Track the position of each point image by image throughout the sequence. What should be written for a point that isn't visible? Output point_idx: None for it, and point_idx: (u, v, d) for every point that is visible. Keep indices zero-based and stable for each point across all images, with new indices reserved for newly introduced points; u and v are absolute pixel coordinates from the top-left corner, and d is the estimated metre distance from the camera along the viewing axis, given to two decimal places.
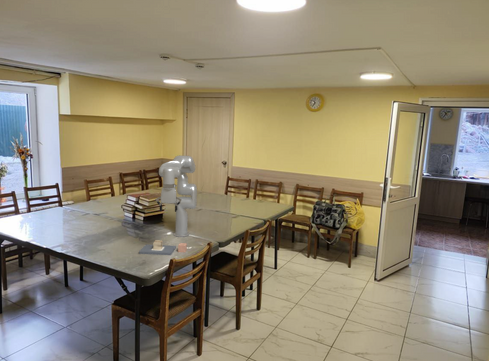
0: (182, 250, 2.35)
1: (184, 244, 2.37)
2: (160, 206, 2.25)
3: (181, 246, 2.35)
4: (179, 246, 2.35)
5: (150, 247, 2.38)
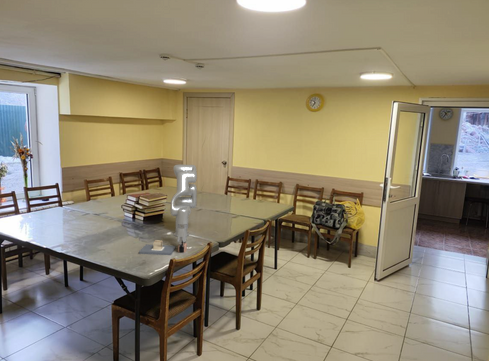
0: None
1: (184, 244, 2.37)
2: (183, 247, 2.34)
3: None
4: None
5: (150, 247, 2.38)
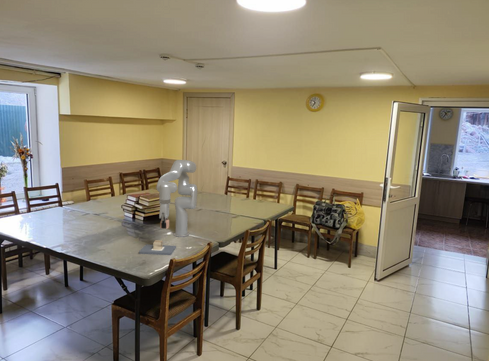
0: None
1: (166, 220, 2.34)
2: None
3: None
4: None
5: (150, 247, 2.38)
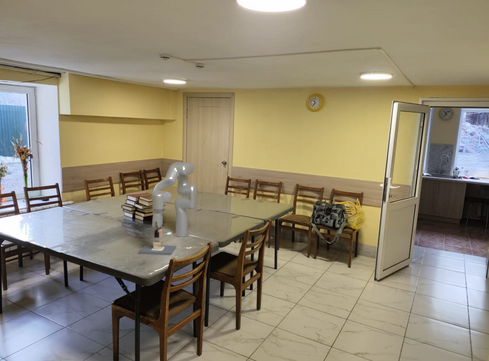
0: None
1: (159, 229, 2.34)
2: (158, 232, 2.31)
3: None
4: None
5: (150, 247, 2.38)
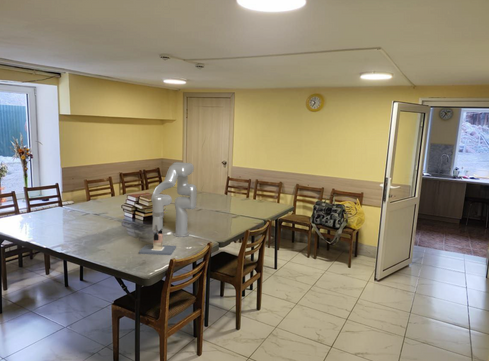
0: (157, 240, 2.33)
1: (160, 234, 2.35)
2: (158, 235, 2.30)
3: None
4: None
5: (150, 247, 2.38)
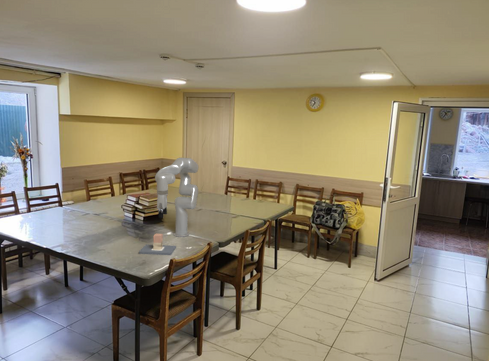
0: (157, 240, 2.33)
1: (160, 234, 2.35)
2: (162, 213, 2.33)
3: (156, 236, 2.33)
4: (154, 236, 2.33)
5: (150, 247, 2.38)
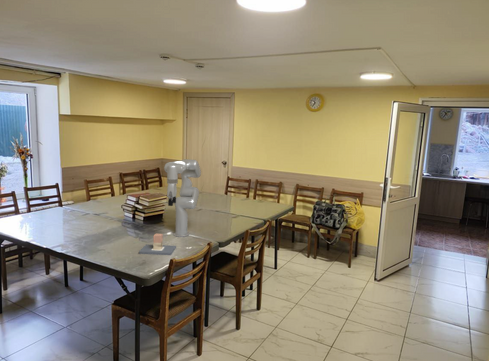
0: (157, 240, 2.33)
1: (160, 234, 2.35)
2: (172, 201, 2.42)
3: (156, 236, 2.33)
4: (154, 236, 2.33)
5: (150, 247, 2.38)
